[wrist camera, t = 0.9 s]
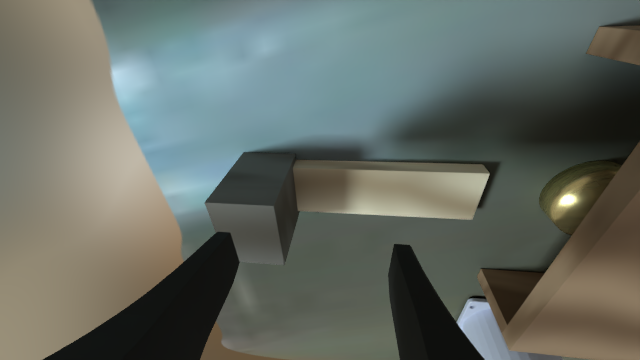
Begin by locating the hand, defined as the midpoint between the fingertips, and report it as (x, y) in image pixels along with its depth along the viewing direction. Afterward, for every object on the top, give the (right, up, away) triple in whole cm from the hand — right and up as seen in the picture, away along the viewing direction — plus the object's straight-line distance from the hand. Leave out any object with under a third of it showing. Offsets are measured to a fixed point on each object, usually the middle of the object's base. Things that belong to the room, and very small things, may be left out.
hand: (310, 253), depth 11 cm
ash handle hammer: (+3, +3, +8) cm, 9 cm away
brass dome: (+19, +3, +7) cm, 20 cm away
